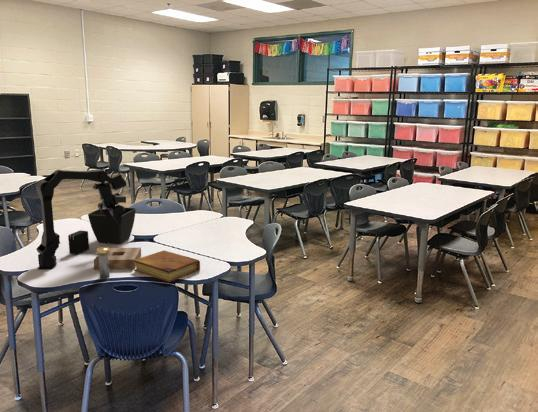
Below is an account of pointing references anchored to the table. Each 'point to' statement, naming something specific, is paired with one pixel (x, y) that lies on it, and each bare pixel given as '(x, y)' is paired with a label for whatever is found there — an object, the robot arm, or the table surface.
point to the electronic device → (78, 242)
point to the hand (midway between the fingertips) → (116, 222)
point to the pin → (103, 262)
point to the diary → (167, 265)
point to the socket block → (121, 258)
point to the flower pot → (112, 226)
